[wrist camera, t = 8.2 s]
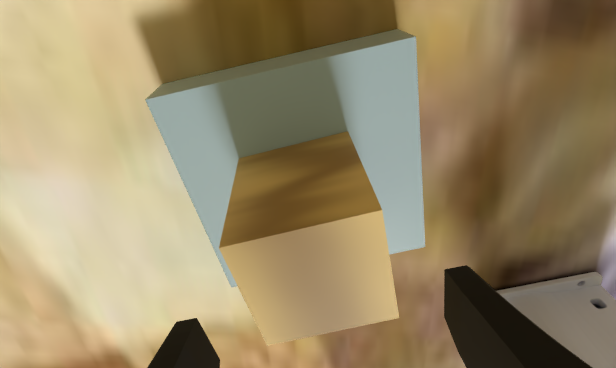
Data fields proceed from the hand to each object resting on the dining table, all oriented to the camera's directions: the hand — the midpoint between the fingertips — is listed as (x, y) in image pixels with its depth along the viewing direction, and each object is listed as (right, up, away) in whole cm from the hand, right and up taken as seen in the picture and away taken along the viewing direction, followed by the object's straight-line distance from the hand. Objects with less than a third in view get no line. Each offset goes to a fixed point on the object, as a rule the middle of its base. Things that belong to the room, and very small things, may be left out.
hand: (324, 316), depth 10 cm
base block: (-1, +5, +9) cm, 10 cm away
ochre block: (-1, +4, +7) cm, 8 cm away
